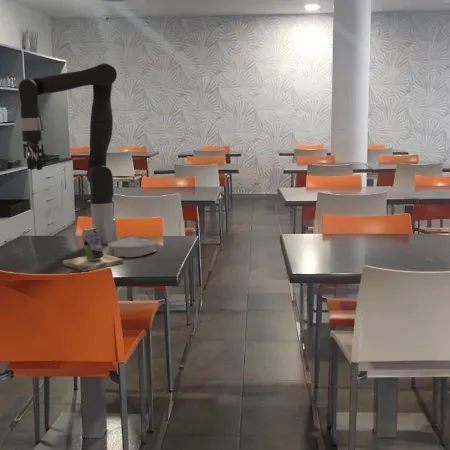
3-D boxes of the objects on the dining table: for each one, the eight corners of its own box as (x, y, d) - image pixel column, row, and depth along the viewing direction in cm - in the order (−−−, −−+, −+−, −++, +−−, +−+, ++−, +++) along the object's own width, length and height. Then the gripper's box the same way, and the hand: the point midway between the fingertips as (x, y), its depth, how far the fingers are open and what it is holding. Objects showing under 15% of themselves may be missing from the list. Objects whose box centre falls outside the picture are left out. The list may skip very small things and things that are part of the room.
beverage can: (99, 262, 229) (97, 229, 227) (80, 262, 230) (78, 229, 228) (106, 258, 235) (104, 226, 233) (87, 258, 236) (85, 226, 234)
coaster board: (101, 256, 244) (100, 253, 244) (123, 263, 232) (123, 259, 232) (63, 264, 234) (62, 260, 234) (84, 271, 222) (83, 267, 222)
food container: (96, 255, 251) (94, 238, 249) (135, 245, 265) (134, 229, 264) (128, 262, 237) (126, 244, 236) (167, 251, 251) (166, 234, 250)
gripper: (47, 128, 254) (51, 169, 257) (32, 129, 265) (36, 168, 268) (30, 129, 249) (33, 170, 252) (15, 130, 260) (19, 169, 263)
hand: (34, 169), depth 260 cm, fingers open, 8 cm apart
